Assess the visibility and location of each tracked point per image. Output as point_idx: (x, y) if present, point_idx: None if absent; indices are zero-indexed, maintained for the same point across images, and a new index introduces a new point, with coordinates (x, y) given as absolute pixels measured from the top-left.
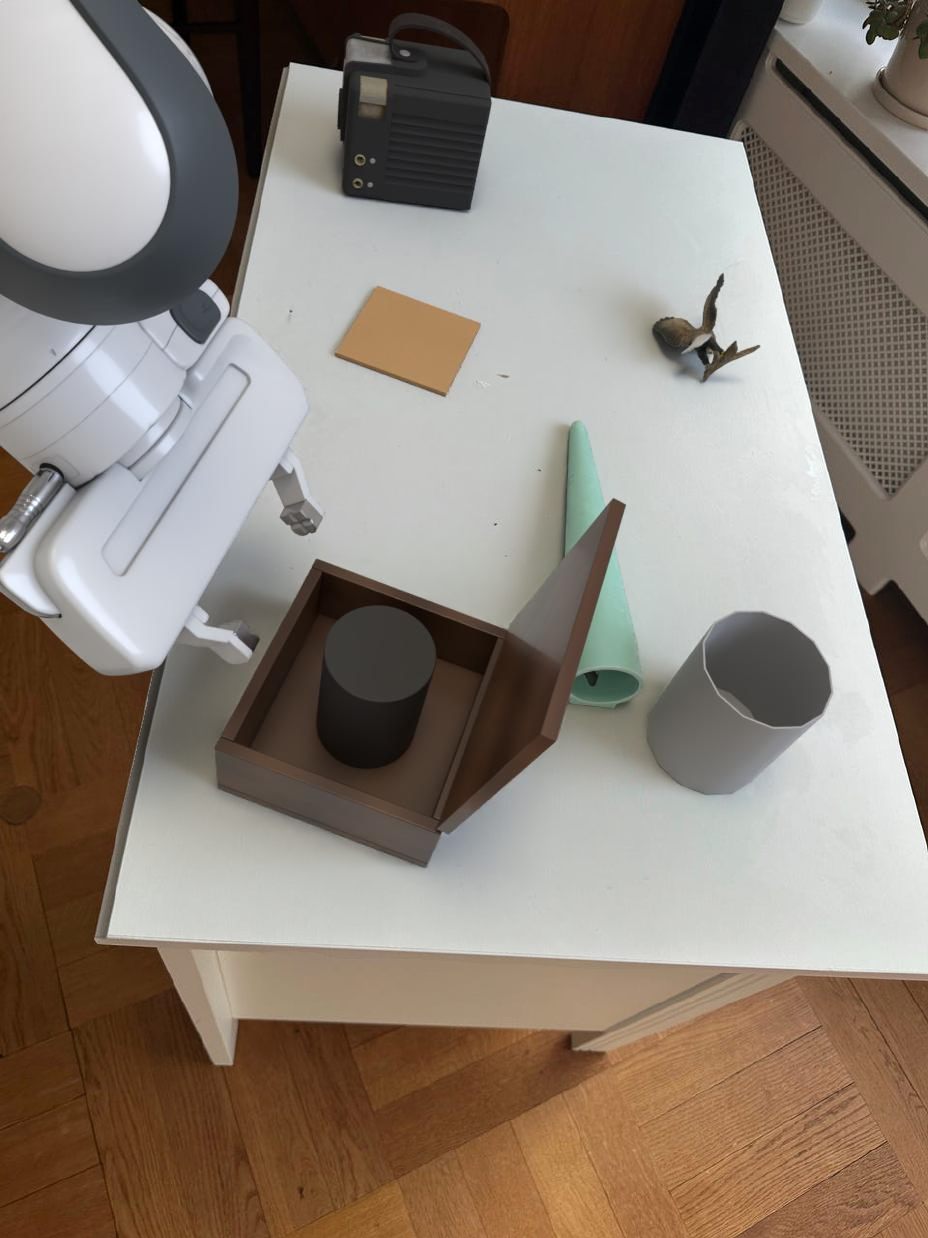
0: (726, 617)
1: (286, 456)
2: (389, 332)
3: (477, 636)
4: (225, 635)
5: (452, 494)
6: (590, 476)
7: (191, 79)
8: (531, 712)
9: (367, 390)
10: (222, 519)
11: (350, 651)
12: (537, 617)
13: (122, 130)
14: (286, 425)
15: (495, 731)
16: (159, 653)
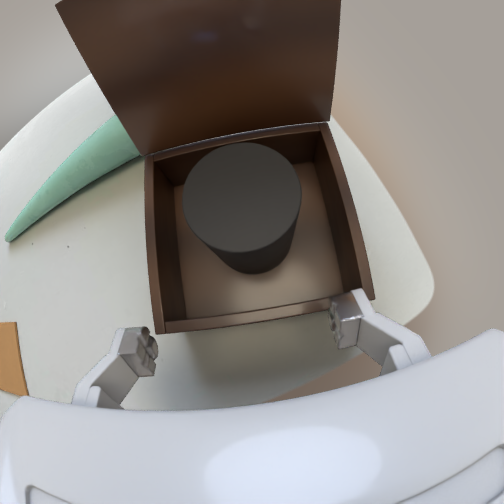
0: None
1: (83, 401)
2: (5, 371)
3: (157, 179)
4: (376, 320)
5: (60, 284)
6: (27, 205)
7: None
8: None
9: (33, 370)
10: (265, 440)
11: (258, 217)
12: (153, 74)
13: None
14: (47, 417)
15: (277, 58)
16: (496, 335)
